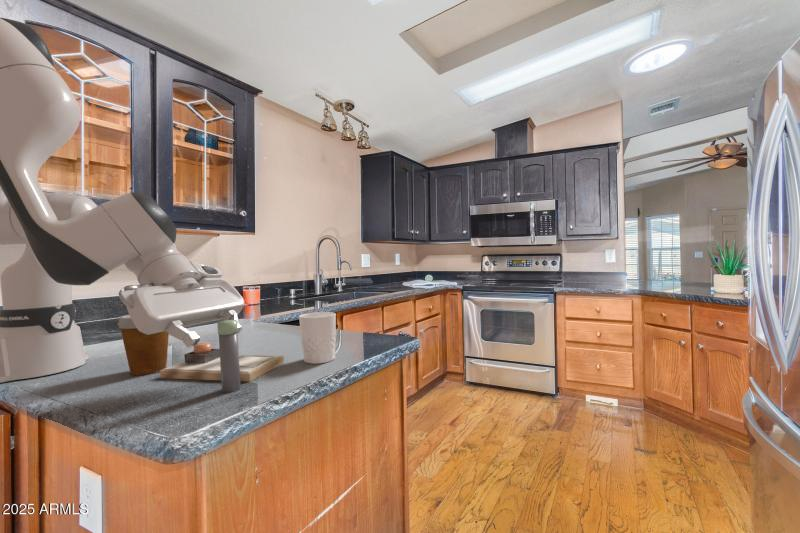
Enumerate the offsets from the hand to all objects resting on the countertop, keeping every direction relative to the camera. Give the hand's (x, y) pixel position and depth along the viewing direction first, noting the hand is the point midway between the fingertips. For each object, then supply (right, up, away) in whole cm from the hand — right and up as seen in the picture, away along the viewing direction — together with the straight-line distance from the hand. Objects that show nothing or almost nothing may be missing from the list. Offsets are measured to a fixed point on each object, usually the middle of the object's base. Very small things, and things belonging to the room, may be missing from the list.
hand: (217, 337), depth 65 cm
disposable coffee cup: (-21, -10, +14) cm, 27 cm away
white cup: (+14, -8, +17) cm, 24 cm away
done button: (-10, -6, +14) cm, 19 cm away
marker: (+2, -9, 0) cm, 9 cm away
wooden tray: (-4, -9, +12) cm, 16 cm away
